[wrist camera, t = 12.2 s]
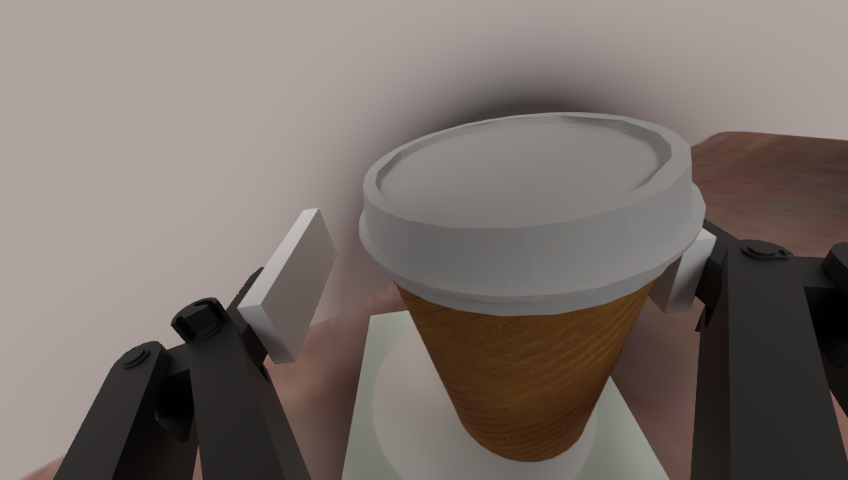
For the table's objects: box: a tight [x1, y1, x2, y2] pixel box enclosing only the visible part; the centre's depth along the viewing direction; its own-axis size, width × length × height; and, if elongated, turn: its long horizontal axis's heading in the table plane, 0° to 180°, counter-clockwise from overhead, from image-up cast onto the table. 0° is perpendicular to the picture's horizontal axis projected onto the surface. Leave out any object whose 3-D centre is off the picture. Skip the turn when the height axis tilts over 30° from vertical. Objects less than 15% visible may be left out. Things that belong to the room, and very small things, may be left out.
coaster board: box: [342, 310, 669, 480], centre depth 17 cm, size 13×12×1 cm
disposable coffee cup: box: [359, 112, 706, 462], centre depth 12 cm, size 10×10×12 cm
